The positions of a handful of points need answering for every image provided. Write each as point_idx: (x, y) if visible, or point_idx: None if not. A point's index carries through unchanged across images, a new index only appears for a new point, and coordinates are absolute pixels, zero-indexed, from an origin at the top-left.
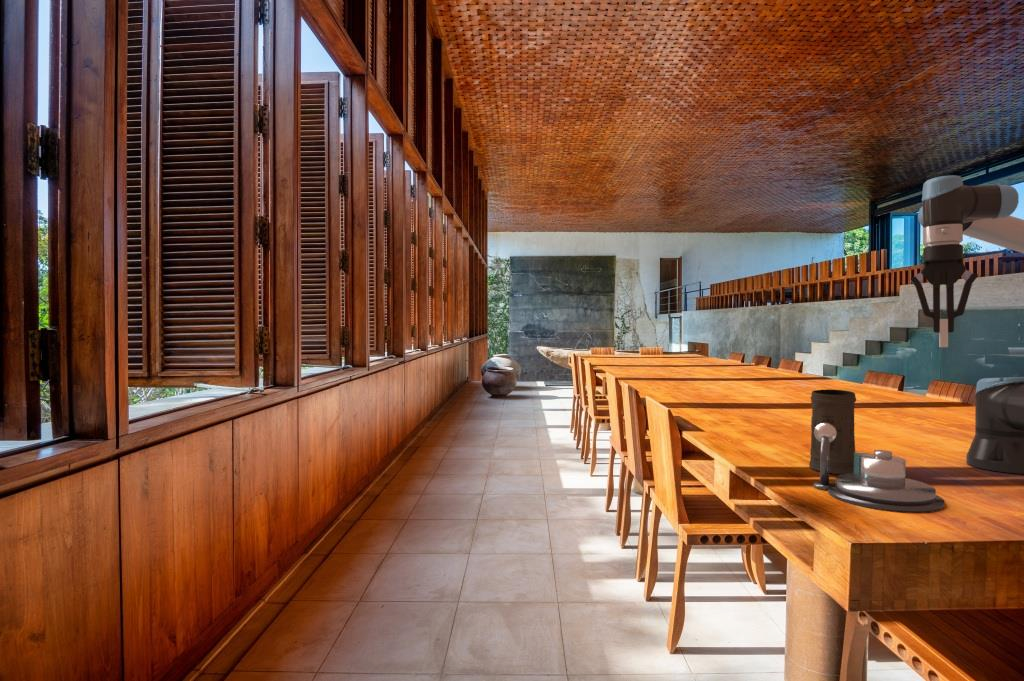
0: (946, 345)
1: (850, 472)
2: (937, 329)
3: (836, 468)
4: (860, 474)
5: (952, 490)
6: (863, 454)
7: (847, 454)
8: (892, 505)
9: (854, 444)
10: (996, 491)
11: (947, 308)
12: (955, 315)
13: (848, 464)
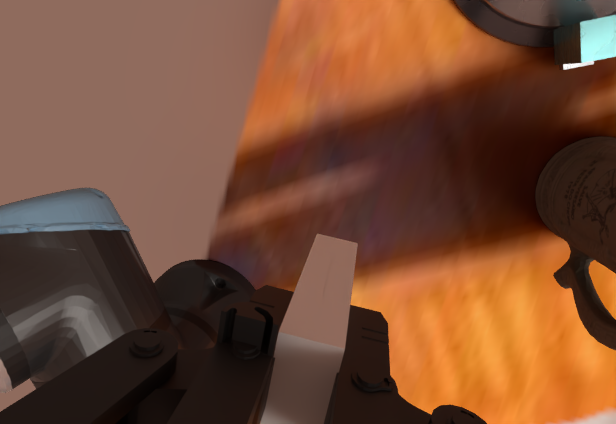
0: (323, 240)
1: (565, 147)
2: (361, 322)
3: (608, 138)
4: (601, 2)
5: (372, 61)
6: (606, 29)
7: (596, 147)
8: None
9: (576, 184)
10: (286, 86)
11: (249, 415)
12: (198, 358)
13: (578, 150)
